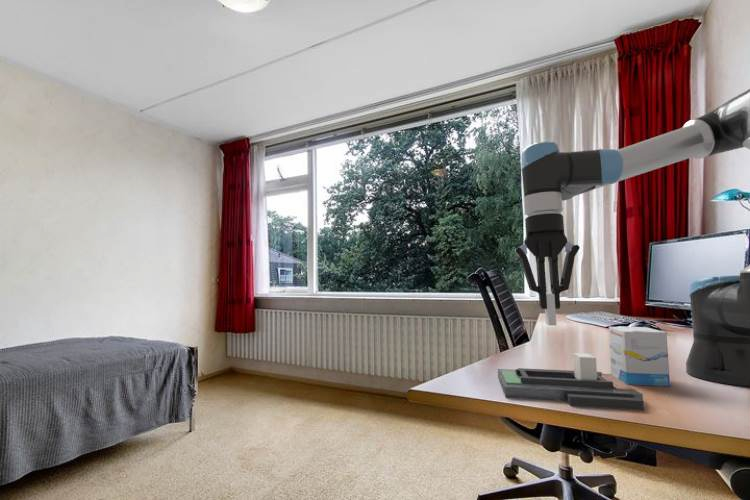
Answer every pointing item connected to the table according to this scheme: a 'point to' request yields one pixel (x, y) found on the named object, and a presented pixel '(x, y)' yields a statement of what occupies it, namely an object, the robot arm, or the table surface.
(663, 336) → the ink box
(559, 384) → the panel
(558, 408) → the table surface
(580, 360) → the white rectangular block
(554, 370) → the dark grey slim bar
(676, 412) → the table surface
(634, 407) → the dark grey bar
